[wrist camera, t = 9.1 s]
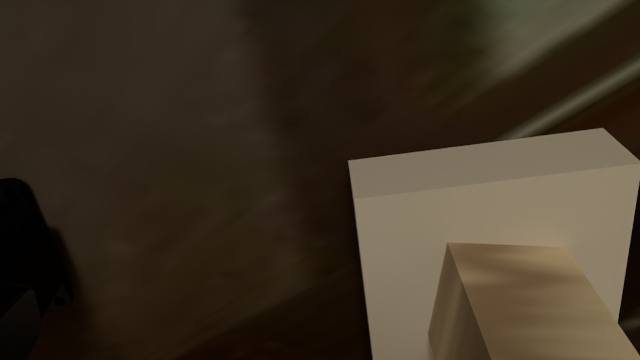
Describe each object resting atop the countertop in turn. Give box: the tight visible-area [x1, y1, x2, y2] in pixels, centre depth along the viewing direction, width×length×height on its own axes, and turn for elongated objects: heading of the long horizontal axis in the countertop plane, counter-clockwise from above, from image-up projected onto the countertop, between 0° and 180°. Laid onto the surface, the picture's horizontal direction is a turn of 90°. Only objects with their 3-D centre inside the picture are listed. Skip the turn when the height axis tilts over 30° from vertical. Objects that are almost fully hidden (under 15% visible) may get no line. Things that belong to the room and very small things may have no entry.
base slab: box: [348, 128, 640, 360], centre depth 24 cm, size 10×10×3 cm
